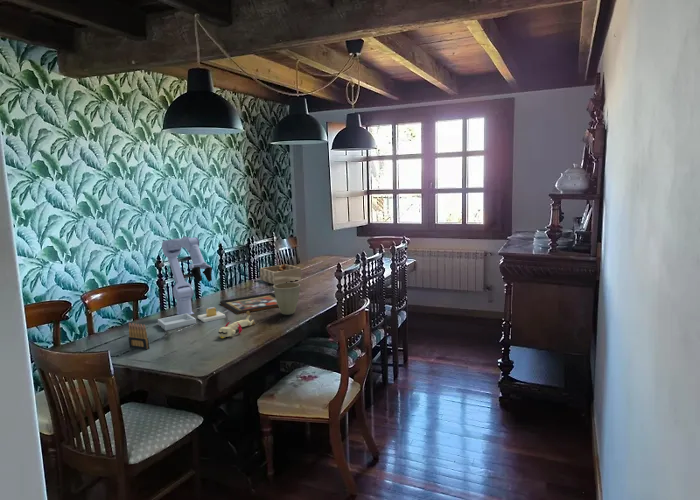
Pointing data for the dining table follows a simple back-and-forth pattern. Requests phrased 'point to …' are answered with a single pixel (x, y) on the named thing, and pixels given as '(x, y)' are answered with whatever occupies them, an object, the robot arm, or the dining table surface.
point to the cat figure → (235, 326)
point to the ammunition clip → (138, 337)
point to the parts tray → (176, 321)
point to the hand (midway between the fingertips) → (205, 281)
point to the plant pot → (287, 296)
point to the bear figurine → (282, 268)
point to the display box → (280, 274)
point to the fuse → (211, 311)
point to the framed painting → (251, 303)
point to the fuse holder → (211, 317)
